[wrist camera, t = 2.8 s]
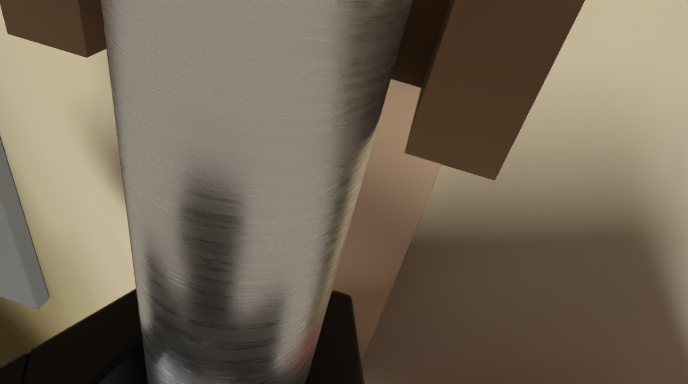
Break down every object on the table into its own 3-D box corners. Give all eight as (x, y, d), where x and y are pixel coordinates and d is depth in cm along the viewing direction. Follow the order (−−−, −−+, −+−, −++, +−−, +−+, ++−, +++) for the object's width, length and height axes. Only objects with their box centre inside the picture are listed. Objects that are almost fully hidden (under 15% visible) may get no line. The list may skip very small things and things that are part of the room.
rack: (354, 371, 16) (304, 578, 11) (224, 327, 17) (122, 511, 12) (551, -132, 7) (697, -145, 2) (258, -205, 8) (-116, -342, 3)
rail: (276, 496, 13) (241, 606, 11) (197, 467, 13) (148, 570, 11) (469, -177, 4) (462, -232, 2) (199, -243, 4) (-66, -354, 2)
